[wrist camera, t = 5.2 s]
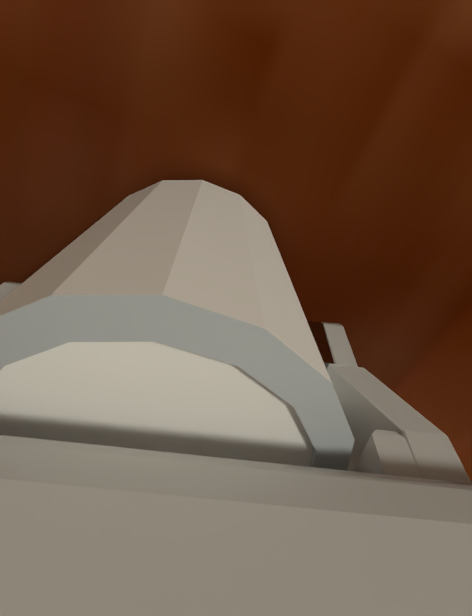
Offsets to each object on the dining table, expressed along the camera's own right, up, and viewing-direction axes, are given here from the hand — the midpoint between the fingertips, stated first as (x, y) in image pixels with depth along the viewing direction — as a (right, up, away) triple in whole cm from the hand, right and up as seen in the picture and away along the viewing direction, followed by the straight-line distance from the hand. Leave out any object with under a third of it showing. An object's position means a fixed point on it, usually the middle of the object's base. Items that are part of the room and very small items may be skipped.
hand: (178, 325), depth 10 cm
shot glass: (0, +2, +3) cm, 3 cm away
